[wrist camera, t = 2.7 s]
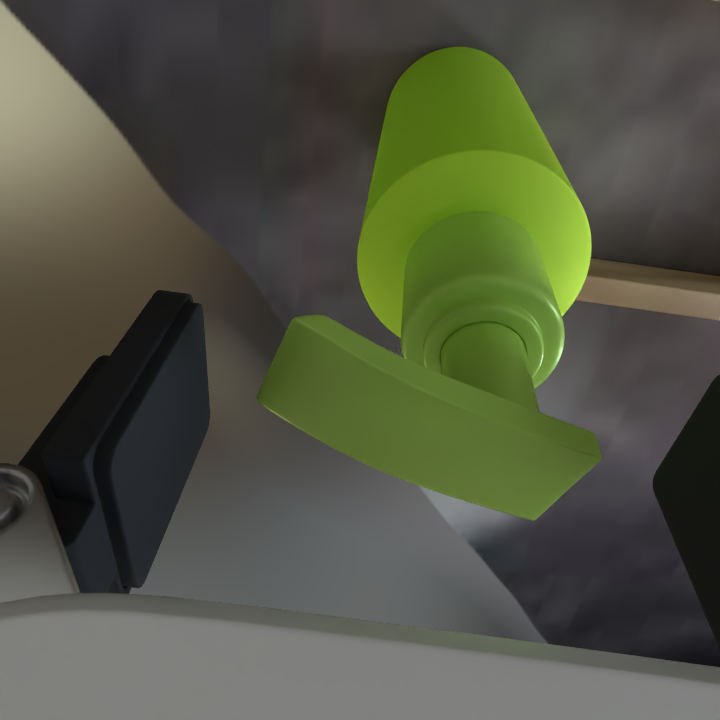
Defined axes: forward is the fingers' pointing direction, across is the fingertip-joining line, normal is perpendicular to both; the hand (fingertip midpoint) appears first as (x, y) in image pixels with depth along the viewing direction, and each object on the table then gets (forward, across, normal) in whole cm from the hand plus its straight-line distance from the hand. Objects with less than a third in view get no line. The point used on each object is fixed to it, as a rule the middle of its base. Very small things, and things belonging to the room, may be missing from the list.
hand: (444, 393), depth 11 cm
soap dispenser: (+18, 0, 0) cm, 18 cm away
